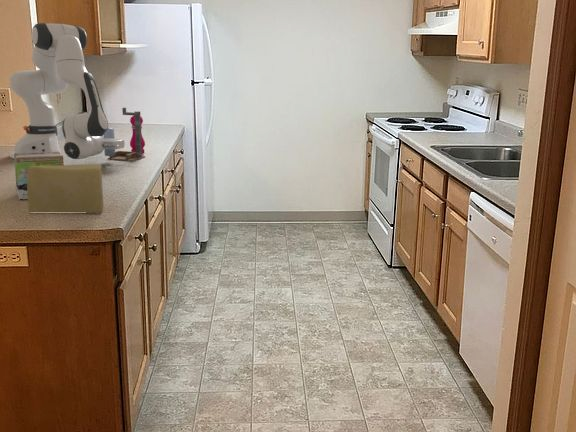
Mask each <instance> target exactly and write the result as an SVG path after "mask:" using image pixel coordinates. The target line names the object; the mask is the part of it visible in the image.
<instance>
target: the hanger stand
mask: <svg viewBox="0 0 576 432" xmlns="http://www.w3.org/2000/svg"><path fill="white" fill-rule="evenodd" d="M121 110H122V116H134V117H135V141H136V152H131V151H127V150H126V151H125V150H115V156H108V157H107V160H108V159H110V160H109V161H120V160H121V162H122V161H123V162H136V161H140V160H141V159H145V158H146V156H145V155H143V154H142V141H141V133H142V128H141V125H142V124H141V117H142V116H141V111H140V110H139V111H134V112H128V111H127V107H122V109H121Z"/></svg>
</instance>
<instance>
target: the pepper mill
mask: <svg viewBox="0 0 576 432" xmlns="http://www.w3.org/2000/svg"><path fill="white" fill-rule="evenodd" d="M143 122H144V120H143V117H142V116H141V129H143V125H142V124H143ZM129 123H130V124H131V129H132V136H131V138H130V142H129V147H130V148H131V150H130V152H136V141H135V117H134V115H131V117H130V119H129ZM141 141H142V155H143V154H145V149H144V148H145V146H146V142H145V138H144V137H143V134H142V132H141Z"/></svg>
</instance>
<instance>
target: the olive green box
mask: <svg viewBox="0 0 576 432" xmlns="http://www.w3.org/2000/svg"><path fill="white" fill-rule="evenodd" d="M102 177H103V175H102V165H101V164H100V163H89V164H88V163H87V164H66V165H65V164H64V165H61V166H31V167H29V168H28V178H27V195H28V199H27V202H28V205H27V206H28V212H86V213H101V214H102V213H103V211H104V193H103V178H102Z"/></svg>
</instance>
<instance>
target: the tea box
mask: <svg viewBox="0 0 576 432" xmlns="http://www.w3.org/2000/svg"><path fill="white" fill-rule="evenodd" d="M13 153H14V152H13ZM13 161H14V172H15V173H14V174H15V185H16V186H15V187H16V195H17V197H18V199H19V200H20V199H23V200H28V195H27V178H28V168H29V167H31V166H61V165H65V164H64V156H63V155H62V152H61V153H60V152H35V153H14V159H13Z"/></svg>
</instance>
